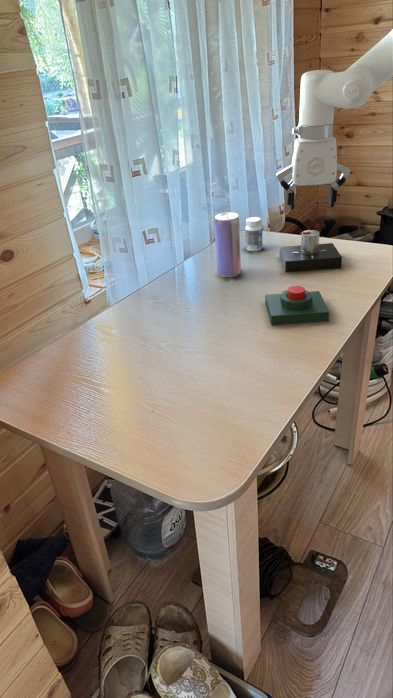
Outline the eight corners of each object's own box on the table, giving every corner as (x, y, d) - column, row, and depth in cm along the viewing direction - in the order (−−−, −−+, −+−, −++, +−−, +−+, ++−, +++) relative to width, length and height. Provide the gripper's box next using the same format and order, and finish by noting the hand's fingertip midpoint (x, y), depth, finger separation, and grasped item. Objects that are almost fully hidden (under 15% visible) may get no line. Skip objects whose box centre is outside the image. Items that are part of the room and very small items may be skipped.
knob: (316, 247, 134) (317, 228, 131) (320, 254, 130) (321, 234, 127) (299, 249, 134) (300, 229, 131) (302, 255, 130) (303, 235, 127)
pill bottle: (262, 251, 142) (261, 221, 138) (245, 251, 143) (244, 222, 139) (262, 245, 146) (262, 216, 142) (246, 245, 147) (245, 216, 143)
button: (303, 292, 111) (303, 285, 110) (306, 300, 108) (306, 292, 107) (286, 293, 111) (286, 286, 110) (289, 301, 108) (289, 293, 107)
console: (331, 253, 137) (332, 242, 136) (341, 268, 129) (342, 256, 127) (279, 257, 138) (279, 246, 136) (285, 272, 129) (285, 260, 128)
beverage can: (222, 280, 128) (218, 221, 121) (214, 271, 133) (211, 214, 125) (244, 275, 130) (242, 217, 122) (236, 267, 135) (234, 210, 127)
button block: (318, 299, 116) (319, 283, 114) (328, 321, 107) (329, 304, 105) (265, 303, 116) (265, 287, 114) (271, 325, 108) (271, 308, 105)
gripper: (279, 137, 114) (278, 213, 123) (358, 132, 113) (350, 209, 123) (275, 131, 120) (273, 204, 129) (349, 126, 120) (342, 200, 129)
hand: (311, 206), depth 126 cm, fingers open, 9 cm apart
